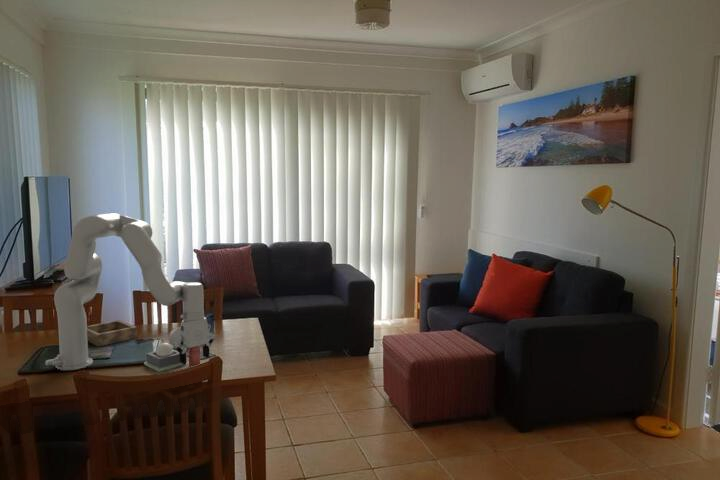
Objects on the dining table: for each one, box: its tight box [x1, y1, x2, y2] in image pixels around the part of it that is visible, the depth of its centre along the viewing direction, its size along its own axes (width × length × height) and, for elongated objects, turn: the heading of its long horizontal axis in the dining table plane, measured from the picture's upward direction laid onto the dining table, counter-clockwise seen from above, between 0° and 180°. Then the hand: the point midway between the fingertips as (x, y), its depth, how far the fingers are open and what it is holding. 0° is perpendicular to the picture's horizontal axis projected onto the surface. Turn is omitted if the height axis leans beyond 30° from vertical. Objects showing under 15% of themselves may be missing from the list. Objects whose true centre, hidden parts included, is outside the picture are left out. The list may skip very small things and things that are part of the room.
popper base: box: [143, 348, 187, 373], centre depth 209 cm, size 11×11×4 cm
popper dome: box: [155, 342, 173, 357], centre depth 208 cm, size 6×6×6 cm
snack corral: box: [87, 319, 138, 347], centre depth 241 cm, size 17×17×5 cm
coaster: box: [186, 350, 216, 361], centre depth 219 cm, size 8×8×1 cm
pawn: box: [188, 346, 201, 368], centre depth 208 cm, size 4×4×8 cm
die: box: [168, 326, 181, 348], centre depth 229 cm, size 8×9×10 cm
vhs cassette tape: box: [204, 312, 215, 337], centre depth 240 cm, size 18×3×10 cm, turn 166°
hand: (194, 360), depth 208 cm, fingers open, 9 cm apart
